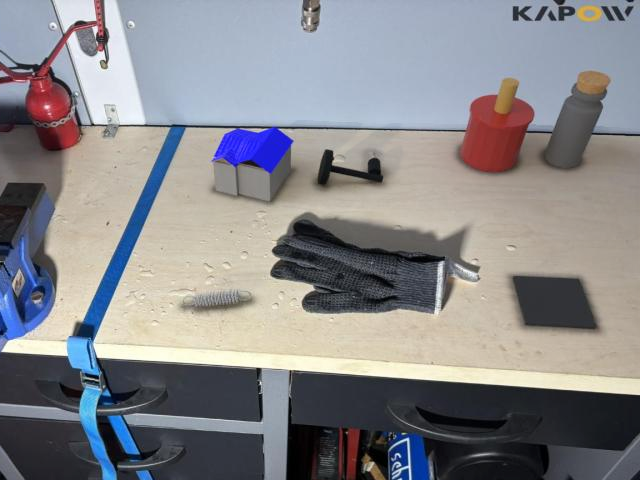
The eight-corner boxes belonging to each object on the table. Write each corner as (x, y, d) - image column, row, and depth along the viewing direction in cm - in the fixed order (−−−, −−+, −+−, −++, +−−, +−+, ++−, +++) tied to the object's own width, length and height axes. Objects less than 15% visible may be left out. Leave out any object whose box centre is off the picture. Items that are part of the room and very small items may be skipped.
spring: (183, 311, 86) (181, 301, 84) (183, 300, 87) (181, 291, 86) (251, 305, 86) (251, 295, 84) (250, 294, 87) (250, 285, 86)
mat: (578, 280, 86) (579, 278, 86) (595, 328, 80) (597, 327, 80) (512, 277, 87) (513, 275, 87) (525, 325, 81) (526, 323, 81)
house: (213, 191, 104) (209, 151, 98) (239, 157, 110) (237, 118, 105) (269, 205, 101) (269, 165, 95) (293, 169, 107) (294, 130, 101)
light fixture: (374, 160, 111) (377, 203, 103) (318, 149, 111) (317, 190, 102) (385, 133, 107) (389, 174, 98) (327, 121, 107) (326, 161, 98)
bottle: (536, 154, 107) (566, 74, 96) (561, 145, 108) (594, 65, 97) (561, 171, 103) (595, 90, 92) (587, 162, 105) (623, 81, 94)
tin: (510, 142, 110) (524, 99, 104) (520, 172, 104) (536, 129, 97) (457, 140, 111) (468, 98, 105) (464, 171, 105) (476, 127, 98)
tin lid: (525, 101, 104) (537, 66, 100) (538, 133, 97) (551, 98, 93) (464, 100, 105) (473, 66, 101) (473, 132, 99) (482, 97, 94)
